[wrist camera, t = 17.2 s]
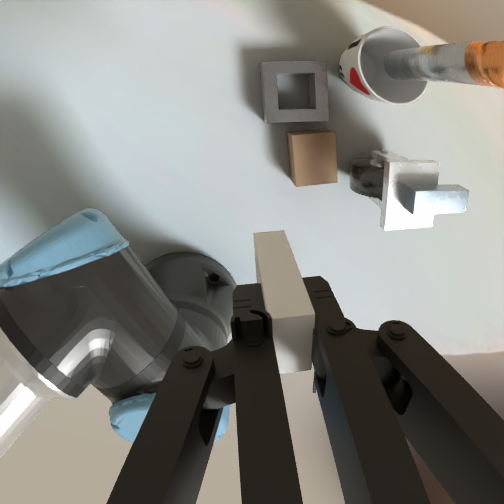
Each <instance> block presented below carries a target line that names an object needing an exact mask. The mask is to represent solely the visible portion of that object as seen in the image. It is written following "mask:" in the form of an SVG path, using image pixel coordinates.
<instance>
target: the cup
mask: <svg viewBox="0 0 504 504" xmlns="http://www.w3.org/2000/svg"><path fill="white" fill-rule="evenodd" d="M416 47H422V45H421V44H420V43H419V42H418V40H417V39H416V38H415V37H414V36H412V35H411V34H410V33H408V32H407V31H405V30H403V29H400V28H397V27H392V26H384V27H379V28H376V29H374V30H372V31H370V32H368V33H366V34H364V35H362V36H360V37H358V38H357V39H356V40H354V41H353V42H352V43H351V44H350V45H349V46H348V47H347V48H346V49H345V50H344V51H343V53H342V55H341V58H340V61H339V73H340V75H341V77H342V79H343V80H344V82H345V83H346V84H347V85H348V86H349V87H350V88H351V89H352V90H354V91H356V92H358V93H360V94H362V95H364V96H366V97H368V98H370V99H373V100H377V101H381V102H385V103H389V104H392V105H408V104H411V103H413V102H415V101H416V100H418V99H419V98H420V97H421V96H422V95H423V94H424V92H425V91H426V89H427V87H428V84H429V81H415V80H395V79H393V78H391V77H390V76H389V75H388V74H387V72H386V70H385V68H384V58H385V56H386V55H387V54H388V53H389V52H391V51H396V50H402V49H409V48H416Z"/></svg>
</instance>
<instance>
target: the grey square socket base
mask: <svg viewBox="0 0 504 504" xmlns="http://www.w3.org/2000/svg"><path fill="white" fill-rule="evenodd" d="M284 74H308V80H309V99H310V108H287V109H279V106H278V90H277V75H284ZM260 75H261V88H262V103H263V118H264V122H266V123H281V122H309V121H329V109H328V85H327V66H326V61H264V62H261V63H260Z"/></svg>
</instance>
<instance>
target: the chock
mask: <svg viewBox="0 0 504 504" xmlns="http://www.w3.org/2000/svg"><path fill="white" fill-rule="evenodd" d="M287 142H288V153H289V164H290V176H291V180H292V182H293V183H294V185H295V186H296V187H299V186H308V185H318V184H327V183H337V157H336V138H335V132H333V131H331V130H328V129H318V130H304V131H292V132H287Z"/></svg>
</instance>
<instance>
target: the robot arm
mask: <svg viewBox="0 0 504 504" xmlns="http://www.w3.org/2000/svg"><path fill="white" fill-rule="evenodd" d="M253 234H254V248H255V261H256V274H257V283H255V284H245V285H236V283H235V281H234V279H233V277H232V276H231V274H230V273H229V272H228V271H227V270H226V269H225V268H224V267H223V266H222V265H220V264H219V263H218V262H216V261H214V260H213V259H211V258H208V257H206V256H203V255H200V254H196V253H189V252H178V253H171V254H167V255H164V256H161V257H159V258H157V259H155V260H154V261H152V262H151V263H150V264H149V265H148V266H147V267H145V266H144V265H143V264H142V262H141V261H140V260H139V258H138V257H137V256H136V254H135V253H134V251H133V250H132V249H131V247H130V246H129V241H128V240H127V239H126V238H123V237H122V236H121V234H120V233H119V232H118V231H117V229H116V228H115V227H114V225H113V224H112V223H111V222H110V220H109V219H108V218H107V216H106V215H105V214H104V213H102V212H101V211H99V210H97V209H93V208H87V209H83V210H80V211H78V212H77V213H75V214H73V215H71V216H70V217H68V218H66V219H65V220H63V221H62V222H60V223H58V224H57V225H55V226H54V227H52V228H51V229H49V230H48V231H46V232H45V233H43V234H42V235H40V236H39V237H37V238H36V239H34V240H33V241H31V242H30V243H28V244H27V245H26V246H24V247H23V248H21V249H20V250H19V251H17V252H16V253H15V254H14V255H12V256H11V257H10V258H8V259H7V260H6V261H4V262H3V263H2V264H0V458H1V457H2V456H3V455H4V453H5V452H6V451H7V450H8V449H9V448H10V446H11V445H12V444H13V443H14V442H15V441H16V439H17V438H18V437H19V436H20V435H21V434H22V432H23V431H24V430H25V429H26V428H27V426H29V424H30V423H31V422H32V421H33V420H34V419H35V418H36V417H37V415H38V414H39V413H40V412H41V411H42V410H43V408H44V407H45V406H46V405H47V404H48V403H49V402H50V401H51V400H53V399H66V400H75V399H76V398H77V397H78V396H79V395H80V394H81V393H82V392H83V391H84V390H85V388H86V387H87V386H88V385H90V384H92V385H93V386H94V387H96V388H97V389H98V390H99V391H100V392H101V393H103V394H104V395H105V396H106V397H107V398H108V399H109V400H110V401H111V402H112V404H113V405H112V406H111V407H110V410H109V415H110V421H111V426H112V428H113V429H114V431H115V432H116V433H117V434H119V435H120V436H121V437H123V438H124V439H126V440H128V441H130V442H132V443H133V445H132V447H131V449H130V452H129V454H128V456H127V458H126V460H125V463H124V465H123V467H122V469H121V472H120V474H119V476H118V478H117V481H116V483H115V485H114V488H113V490H112V492H111V495H110V497H109V499H108V501H107V504H196V501H197V497H198V494H199V491H200V487H201V484H202V480H203V477H204V473H205V470H206V467H207V463H208V460H209V457H210V453H211V450H212V446H213V443H214V442H215V441H217V440H218V439H220V438H221V436H222V435H223V434H224V432H225V431H226V430H227V427H228V422H229V412H230V407H231V404H233V403H235V402H236V416H237V434H238V452H239V467H240V482H241V497H242V504H303V501H302V496H301V490H300V484H299V479H298V473H297V468H296V462H295V456H294V451H293V445H292V440H291V434H290V429H289V423H288V418H287V413H286V407H285V401H284V395H283V390H282V384H281V379H280V374H283V373H291V372H298V371H306V370H311V368H312V363H313V366H314V370H315V372H314V382H313V393H316V390H317V393H318V397H319V401H320V405H321V408H322V412H323V416H324V420H325V423H326V428H327V431H328V435H329V439H330V443H331V447H332V451H333V455H334V459H335V463H336V467H337V471H338V475H339V479H340V483H341V488H342V491H343V496H344V500H345V504H431V503H430V501H429V499H428V496H427V494H426V491H425V488H424V485H423V482H422V480H421V477H420V475H419V472H418V469H417V467H416V464H415V462H414V459H413V457H412V454H411V451H410V449H409V446H408V444H407V441H406V439H405V437H406V438H407V439H408V441H409V442H410V443H411V445H412V446H413V447H414V449H415V450H416V451H417V453H418V454H419V455H420V457H421V458H422V459H423V461H424V462H425V463H426V465H427V466H428V467H429V469H430V470H431V472H432V473H433V474H434V475H435V477H436V478H437V480H438V481H439V482H440V483H441V485H442V486H443V488H444V489H445V490H446V492H447V493H448V494H449V496H450V497H451V498H452V500H453V501H454V503H455V504H504V420H503V419H502V418H501V417H500V416H499V415H498V414H497V413H496V412H495V411H494V410H493V409H492V408H491V406H490V405H489V404H488V403H487V402H486V401H485V400H484V399H483V398H482V397H481V396H480V395H479V394H478V393H477V392H476V391H475V390H474V389H473V388H472V386H470V384H469V383H468V382H467V381H466V380H465V379H464V378H463V377H462V376H461V375H460V374H459V373H458V372H457V371H456V370H455V369H454V368H453V367H452V366H451V365H450V364H449V363H448V362H447V361H446V360H445V359H444V358H443V357H442V356H441V355H440V354H439V353H438V352H437V351H436V350H435V349H434V348H433V347H432V346H431V345H430V344H429V343H428V342H427V341H426V340H425V339H424V338H423V337H421V336H420V335H419V334H418V333H417V332H416V331H415V330H414V329H413V328H412V327H411V326H410V325H408V324H407V323H405V322H402V321H396V320H391V321H387V322H385V323H383V324H382V325H381V326H380V328H379V331H373V330H363V329H359V328H356V326H355V325H354V323H353V322H352V321H350V320H349V319H347V318H345V317H344V315H343V313H342V311H341V309H340V307H339V305H338V302H337V300H336V298H335V297H334V294H333V292H332V291H331V288H330V286H329V283H328V282H327V281H326V280H325V279H323V278H322V277H321V276H315V277H305V278H302V277H301V274H300V271H299V269H298V266H297V263H296V261H295V258H294V255H293V253H292V250H291V248H290V245H289V242H288V240H287V237H286V235H285V232H284V230H283V231H271V232H260V233H253ZM230 332H232V340H231V341H230V342H229V343H228V344H227V339H228V337H229V334H230ZM404 435H405V436H404Z"/></svg>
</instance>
